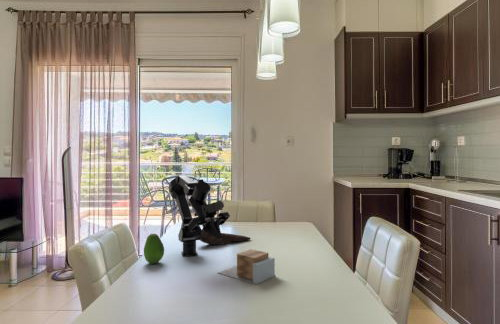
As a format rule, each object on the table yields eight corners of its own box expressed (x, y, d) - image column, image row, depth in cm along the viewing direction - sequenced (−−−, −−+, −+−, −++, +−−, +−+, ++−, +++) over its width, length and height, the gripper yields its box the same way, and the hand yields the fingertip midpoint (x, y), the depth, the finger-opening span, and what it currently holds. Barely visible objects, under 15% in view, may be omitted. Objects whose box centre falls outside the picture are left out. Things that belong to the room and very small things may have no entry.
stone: (197, 239, 164) (205, 218, 167) (192, 238, 169) (200, 218, 172) (246, 258, 175) (253, 238, 178) (240, 256, 181) (247, 237, 184)
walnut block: (237, 275, 126) (236, 253, 126) (251, 269, 132) (251, 249, 132) (254, 280, 121) (254, 258, 121) (268, 274, 127) (268, 252, 127)
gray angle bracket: (217, 273, 130) (217, 255, 130) (237, 265, 138) (237, 249, 138) (256, 284, 118) (256, 265, 118) (275, 275, 127) (275, 257, 127)
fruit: (168, 261, 145) (167, 232, 144) (158, 267, 137) (157, 236, 137) (150, 259, 147) (150, 230, 147) (139, 265, 139) (139, 235, 139)
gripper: (192, 196, 132) (214, 229, 125) (226, 192, 146) (247, 221, 140) (179, 215, 137) (198, 248, 130) (213, 209, 152) (232, 238, 145)
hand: (220, 238), depth 136 cm, fingers closed
